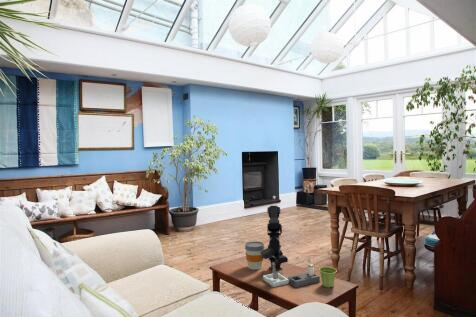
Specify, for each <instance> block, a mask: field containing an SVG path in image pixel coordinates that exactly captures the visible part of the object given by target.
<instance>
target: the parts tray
mask: <svg viewBox="0 0 476 317" xmlns="http://www.w3.org/2000/svg"><path fill="white" fill-rule="evenodd" d="M262 280H263V281H264V282H266V283H267V284H268V285H270V286H271V287H272V288H275V287H281V286H283V285H288V284H290V283H289V280H288V277H285V276H284V275H282V273H279V272H278V279H273V272H272V273H268V274H263V275H262Z"/></svg>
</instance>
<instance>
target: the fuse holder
mask: <svg viewBox="0 0 476 317" xmlns="http://www.w3.org/2000/svg"><path fill="white" fill-rule="evenodd" d="M287 279H288V280H289V284H291V285H292V286H293V287H295V288H298V287H299V288H300V287H304V286H308V285H312V284H316V283H320V281H321V275H318V274H316V273H314V276H313V277H309V276H308V272H304V273H300V274H295V275H294V274H293V275H290V276H287Z"/></svg>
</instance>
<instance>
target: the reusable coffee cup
mask: <svg viewBox="0 0 476 317" xmlns="http://www.w3.org/2000/svg"><path fill="white" fill-rule="evenodd" d="M244 247H245V248H244V249H245V257H246V258H245V259H246V261H247V266H248V269H250V270H261V269H262V268H263V261H264V258H262V256H261V253H260V252H261V251H263V250H264V249H265V243H264V242H261V241H249V242H245V244H244Z"/></svg>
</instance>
